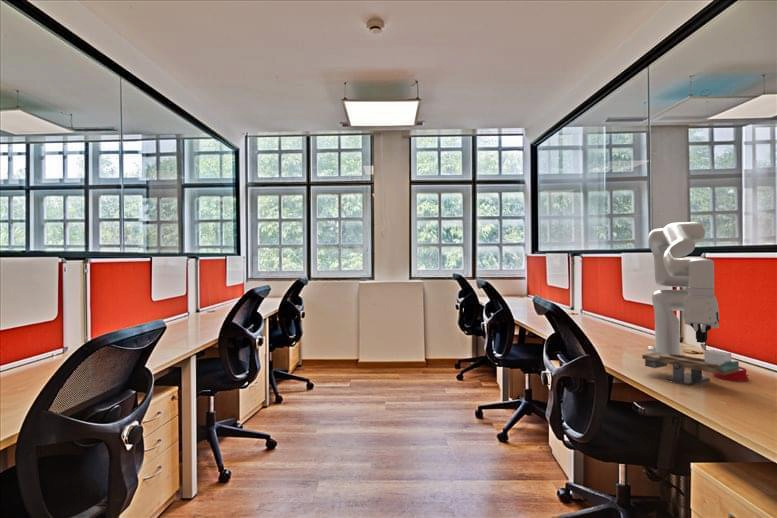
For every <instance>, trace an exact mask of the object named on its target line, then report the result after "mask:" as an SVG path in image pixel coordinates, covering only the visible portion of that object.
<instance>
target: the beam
mask: <svg viewBox="0 0 777 518" xmlns="http://www.w3.org/2000/svg"><path fill="white" fill-rule="evenodd" d="M641 356H642V357H641V358H642V359H643V360H644V366H645V367H646V368H647V367H648V368H652V369H657V368H662V367H667V366H668V365H672V366H673V365H674V364H677V365H682V366H684V368H687V369H690V370H691V369H696V370H701V371H702V372H706V373H712V374H714V373H716V374H721V375H727V374H731V373H735V372H738V371H739V367H740V366H739V365H740V364H739V363H740V362H739V360H738V361H737V360H733V361H731V362H729V363H725V364H721V367H720V366H715V365H710V364H705V358H699V357H694V356H687V355H684V354H680V355H678V354H673V353H670V354H665V353H659V352H655V353H653V352H651V353H647V354H644V353H643V354H642V355H641Z"/></svg>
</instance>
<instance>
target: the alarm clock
mask: <svg viewBox="0 0 777 518" xmlns="http://www.w3.org/2000/svg"><path fill="white" fill-rule="evenodd" d="M749 375H750V374H747V369H746V368H744V367H741V366H739V371H738V372H735V373H731V374H727V375H721V374H716V373H713V377H715V378H717V379H721V380H725V381H726V380H727V381H734V382H735V381H736V382H737V383H738V382H747V381H749V380H750V379H749Z"/></svg>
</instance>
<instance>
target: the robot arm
mask: <svg viewBox="0 0 777 518" xmlns="http://www.w3.org/2000/svg"><path fill="white" fill-rule="evenodd" d="M705 235H706V229H705V228H704V226H703V224H702V223H700V222H697V221H685V222H683V221H682V222H681V221H680V222H672V223H671V222H670V223H669V224H667V225H665V226H664V227H663V228H662V227H661V228H655V229H652V230H651V231H650V232H649V234H648V245H649V247H650V250H651V253H652V255H653V263H654V264H653V267H654V269H653V270H654V280H655V281H654V282H655V283H656V285H658V286H660V287H664V288H665V287H667V288H668V287H669V288H671V287H672V288H674V287H675V288H683V289H659V290H656V291H654V292H653V293H652V295H651V301H652V302H651V303H652V306H653V312H654V313H653V314H654V345H655V346H649V345H648V346H647V351H648V352H651V353H655V352H659V353H665V354H670V353H673V354H678V355H681V343H680V341H681V337H680V335H681V334H680V329H681V328H680V319H679V318H678V316H677V315H676V314H675V313H674V311H675V312H676V311H677V312H680V311H682V313H683V316H682V318H683V321H684V324H685V325H687V326H690V327H691V328H693V330H694V332H695V340H696V343H700V344H703V343H706V342H707V341H708V332H709V331H710V330H711V329H718V328H720V324H719V323H720V308H719V304H718V299H717V297H716V296H715V261H713V260H712V259H710V258H705V257H686V256H688V255H690V254H691V253H693V251H694V250H695V248H696V244H699V243H700V242H702V241H703V240H704V239H705Z"/></svg>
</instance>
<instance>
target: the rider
mask: <svg viewBox="0 0 777 518" xmlns="http://www.w3.org/2000/svg"><path fill="white" fill-rule="evenodd" d="M704 359H705V364H710V365H715V366H720V367H721V364H725V363H729V362H732V353H731V352H727V351H718V350H712V349H711V350H705V351H704Z"/></svg>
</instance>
